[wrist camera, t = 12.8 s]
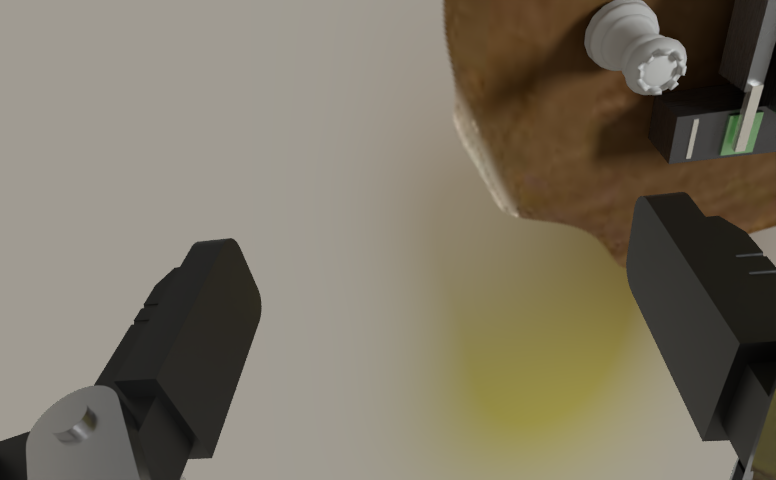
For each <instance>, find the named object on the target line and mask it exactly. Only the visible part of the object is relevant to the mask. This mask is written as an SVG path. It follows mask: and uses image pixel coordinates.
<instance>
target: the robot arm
mask: <svg viewBox="0 0 776 480" xmlns="http://www.w3.org/2000/svg"><path fill="white" fill-rule="evenodd" d="M626 268H627V277H628V282H629V286H630V289H631V291H632V294H633V296H634V298H635V300H636V302H637V304H638V306H639V308H640V310H641V313H642V315H643V317H644V319H645V321H646V323H647V325H648V327H649V329H650V331H651V334H652V336H653V338H654V340H655V342H656V344H657V346H658V348H659V350H660V352H661V355H662V357H663V359H664V361H665V363H666V365H667V367H668V369H669V371H670V374H671V376H672V377H673V380H674V382H675V384H676V386H677V388H678V390H679V392H680V395H681V397H682V399H683V401H684V403H685V405H686V407H687V409H688V411H689V413H690V415H691V418H692V420H693V422H694V424H695V426H696V428H697V430H698V432H699V434H700V437H701V438H702V441H721V440H730V442H731V444H732V446H733V448H734V449H735V451H736V453H737V455H738V459H737V461H736V463H735V465H734V467H733V470H732V473H731V476H730V480H776V267H775V266H774V264H773V263H772V262H771V261H770V260H769V259H768V257H767V256H763V252H762V250H761V249H760V248H759V247H758V246H757V244H756V243H755V242H754V241H753V240H752V239H751V237H749V235H748V234H747V233H746V232H745V231H744V230H742V229H740V228H738V227H737V226H735V225H733V224H732V223H730V222H728V221H727V220H725V219H723V218H722V217H720V216H711V217H705V216H704V214H703V213H702V212H701V210H700V209H699V208H698V207H697V205H696V204H695V203H694V201H693V200H692V199H691V197H690V196H689V195H688V194H687V193H685V192H678V193H669V194H659V195H650V196H640V197H639V198H638V199H637V201H636V204H635V208H634V215H633V221H632V228H631V234H630V241H629V247H628V254H627V262H626ZM260 317H261V297H260V293H259V290H258V288H257V286H256V284H255V281H254V279H253V277H252V274H251V272H250V270H249V267H248V265H247V263H246V260H245V258H244V256H243V254H242V251H241V249H240V247H239V245H238V244H237V242H236V241H235V240H234V239H231V238H230V239H220V240H210V241H202V242H196V243H195V244H194V245H193V246H192V247H191V249H190V251H189V252H188V254H187V256H186V258H185V259H184V261H183V263H182V265H181V266H180V267H178V268H174V269H173V270H172V271H171V272H170V273H168V274H167V275H166V276H165V277H164V278H163V279H162V280H161V281H160V282H159V283H158V284H156V285H155V287H154V289H153V290H152V292H151V294H150V295H149V297H148V298H147V300H146V302H145V303H144V308H142V309H141V310H140V311H139V313H138V315H137V316H136V318H135V320H134V325H131V326H130V328H129V329H128V331H127V333H126V334H125V336H124V337H123V339H122V341H121V342H120V344H119V346H118V347H117V349H116V350H115V352H114V354H113V355H112V357H111V359H110V360H109V362H108V363H107V365H106V367H105V368H104V370H103V372H102V373H101V375H100V376H99V378H98V380H97V381H96V383H95V385H94V386H89V387H85V388H82V389H79V390H77V391H74V392H73V393H70V394H68V395H67V396H65V397H64V398H62V399H60V400H59V401H57V402H56V403H55V404H53V405H52V406H51V407H50V408H49V409H48V410H47V411H46V412H45V413H44V414H43V415H42V416H41V417H40V418H39V419H38V421H37V422H36V423H35V425H34V426H33V428H32V429H31V431H30V432H27V433H24V434H21V435H18V436H15V437H12V438H9V439H6V440H3V441H0V480H185V478H184V477H183V475H182V473H183V470H184V468H185V465H186V463H187V460H188V459H201V458H212V456H213V453H214V450H215V448H216V445H217V442H218V439H219V436H220V433H221V430H222V427H223V424H224V422H225V418H226V416H227V413H228V410H229V407H230V404H231V401H232V399H233V395H234V393H235V390H236V387H237V384H238V381H239V378H240V376H241V373H242V370H243V367H244V364H245V361H246V358H247V355H248V352H249V350H250V347H251V344H252V341H253V338H254V335H255V332H256V329H257V326H258V323H259V321H260Z"/></svg>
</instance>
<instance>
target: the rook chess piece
mask: <svg viewBox="0 0 776 480" xmlns="http://www.w3.org/2000/svg"><path fill="white" fill-rule="evenodd" d="M584 44H585V48H586V51H587V54H588V56H589V57H590V58H591V59H592V60H593V61H594V62H595V63H596V64H598V65H599V66H600V67H602V68H605V69H608V70H612V71H618V70H622V73H623V74H624V75H625V79H626V83H627V85H628V87H629V88H630V89H631V90H632V91H633V92H635V93H638V94H641V95H662V91H664V90H666V89H668V88H669V89H670V90H672V89H674V88H675V87H676V86H677V85H678V84H679V83H677V82H676V81H677V80H678V79H679V77H680V76H681V75H684V76H685V72H686V68H687V66H686V61H687V56H686V51H685V48H684V47H683V45H682V44H681V43H680V42H679V41H678V40H675V39H672V38H669V37H665V36H662V35H659V26H658V21H657V16H656V14H655V13H654V12H653V11H652V10H651V9H650V7H649V6H648V5H647V4H646V3H645V2H644V1H641V0H614V1H612V2H610V3H608V4H606V5H604V6H603V7H602V8H601V9H600V10H599V11H598V12H597V13H596V14H595V15H594V16H593V17H592V19H591V21H590V23H589V25H588V27H587V29H586V33H585V41H584Z"/></svg>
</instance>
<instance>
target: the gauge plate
mask: <svg viewBox="0 0 776 480" xmlns="http://www.w3.org/2000/svg"><path fill="white" fill-rule="evenodd" d="M775 42H776V0H735V4H734V8H733V12H732V17H731V21H730V25H729V30H728V34H727V39H726V43H725V47H724V52H723V56H722V60H721V65H720V69H719V74H720V75H722V76H723V77H724V78H726V79H727V80H729V81H730V82H731V83H733V84H734V85H735V86H737V87H738V88H739V89H741V90H742V91H743V92H745V96H744V100H743V104H742V107H741V111H740V115H739V118H738V122H737V126H736V130H735V133H734V137H733V141H732V145H731V149H732V150H733V151H734V152H741V151H745V149H746V145H747V142H748V138H749V135H750V132H751V128H752V125H753V121H754V118H755V114H756V111H757V107H758V104H759V100H760V97H761V93H762V90H763V86H764V85H763V84H764V80H765V77H766V73H767V70H768V66H769V63H770V59H771V56H772V52H773V49H774V45H775Z"/></svg>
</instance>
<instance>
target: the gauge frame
mask: <svg viewBox="0 0 776 480" xmlns="http://www.w3.org/2000/svg"><path fill="white" fill-rule="evenodd" d="M763 85H764V86H763V90H762V93H761V97H760V100H759V104H758V107H757V111H756V114H755V118H754V121H753V125H752V128H751V132H750V135H749V138H748V142H747V145H746V149H745V151H741V152H734V151H733V150H732V149H731V145H732V141H733V137H734V133H735V130H736V126H737V122H738V118H739V115H740V111H741V107H742V104H743V100H744V96H745V92H743V91H742V90H741V89H739V88H738V87H737V86H735V85H734V84H728V85H720V86H713V87H705V88H698V89H690V90H683V91H675V92H667V93H662V95H655V99H654V105H653V112H652V118H651V125H650V131H649V137H648V138H649V140H650V141H651V142H652V143H653V145H654V146H655V147H656V148H657V150H658V151H659V152H660V153H661V155H662V156H663V157H664V159H665V160H666V161H667V162H668V164H672V163H680V162H689V161H698V160H707V159H716V158H724V157H733V156H742V155H751V154H760V153H769V152H776V42H775V45H774V49H773V52H772V56H771V59H770V63H769V66H768V70H767V73H766V77H765V80H764V84H763Z"/></svg>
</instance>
